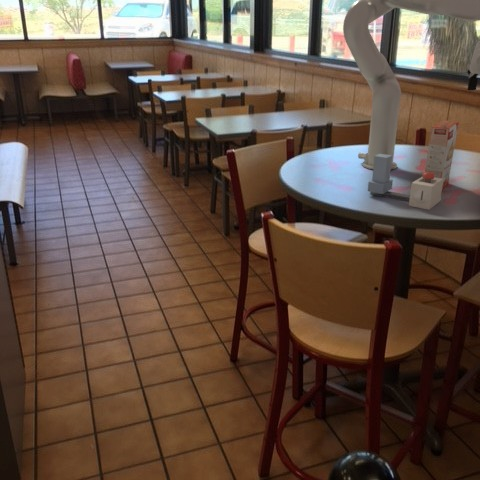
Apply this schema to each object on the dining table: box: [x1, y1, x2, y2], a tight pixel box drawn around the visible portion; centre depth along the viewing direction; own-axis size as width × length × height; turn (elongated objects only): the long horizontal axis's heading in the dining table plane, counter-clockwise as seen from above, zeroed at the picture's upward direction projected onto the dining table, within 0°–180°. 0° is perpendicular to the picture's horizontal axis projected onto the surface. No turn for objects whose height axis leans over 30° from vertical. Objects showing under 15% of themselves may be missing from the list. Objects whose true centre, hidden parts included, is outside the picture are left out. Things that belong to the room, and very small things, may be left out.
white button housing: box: [408, 176, 444, 210], centre depth 153 cm, size 6×10×7 cm, turn 142°
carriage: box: [367, 154, 394, 194], centre depth 160 cm, size 5×7×11 cm
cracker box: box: [424, 119, 460, 190], centre depth 166 cm, size 14×6×21 cm, turn 148°
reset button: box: [421, 171, 435, 183], centre depth 151 cm, size 3×3×3 cm
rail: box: [369, 190, 410, 202], centre depth 160 cm, size 14×2×1 cm, turn 52°
